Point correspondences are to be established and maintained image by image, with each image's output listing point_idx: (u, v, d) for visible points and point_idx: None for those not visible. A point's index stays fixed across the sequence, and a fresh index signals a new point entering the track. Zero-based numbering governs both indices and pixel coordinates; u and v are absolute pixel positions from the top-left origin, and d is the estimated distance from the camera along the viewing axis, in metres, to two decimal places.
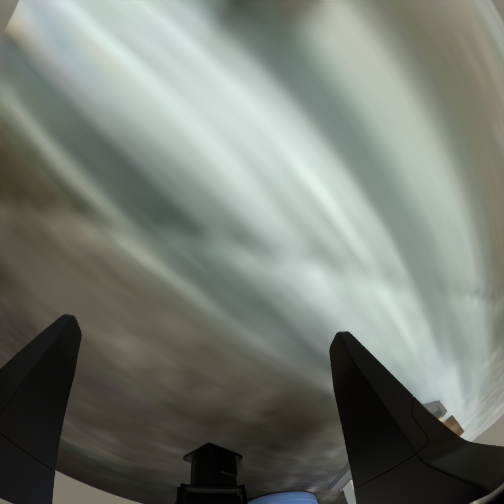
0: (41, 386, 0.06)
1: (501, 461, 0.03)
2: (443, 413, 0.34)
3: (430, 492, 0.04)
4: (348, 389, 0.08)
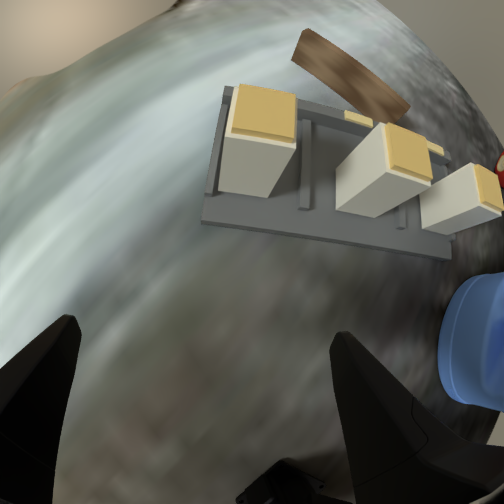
0: (41, 386, 0.06)
1: (501, 461, 0.03)
2: (227, 91, 0.23)
3: (430, 492, 0.04)
4: (348, 389, 0.08)
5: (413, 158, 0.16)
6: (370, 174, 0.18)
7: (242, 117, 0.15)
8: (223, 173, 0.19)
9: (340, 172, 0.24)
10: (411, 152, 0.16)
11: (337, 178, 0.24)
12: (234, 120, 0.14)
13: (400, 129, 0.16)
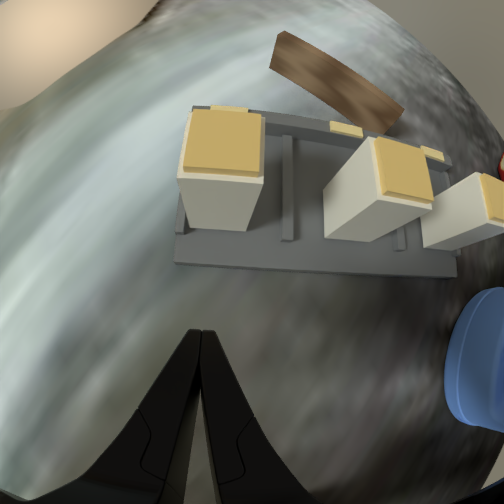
0: (189, 414, 0.06)
1: None
2: None
3: None
4: (201, 393, 0.07)
5: (410, 178, 0.14)
6: (359, 200, 0.16)
7: (195, 152, 0.12)
8: (190, 212, 0.17)
9: (327, 195, 0.21)
10: (407, 171, 0.14)
11: (324, 201, 0.22)
12: (186, 157, 0.12)
13: (393, 143, 0.14)
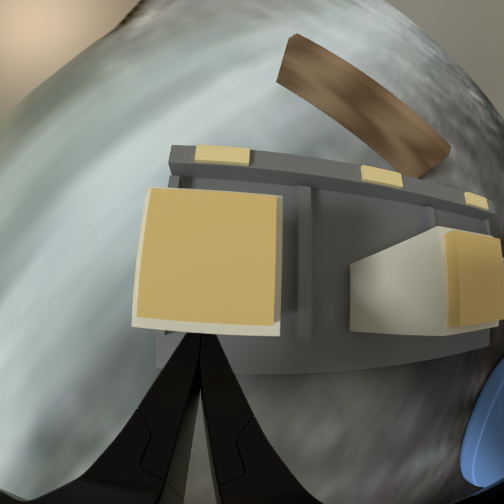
0: (189, 414, 0.06)
1: None
2: (175, 155, 0.15)
3: None
4: (201, 393, 0.07)
5: (485, 295, 0.08)
6: (411, 317, 0.10)
7: (156, 287, 0.07)
8: None
9: (357, 276, 0.16)
10: (483, 283, 0.08)
11: (352, 282, 0.16)
12: (140, 297, 0.07)
13: (470, 238, 0.08)
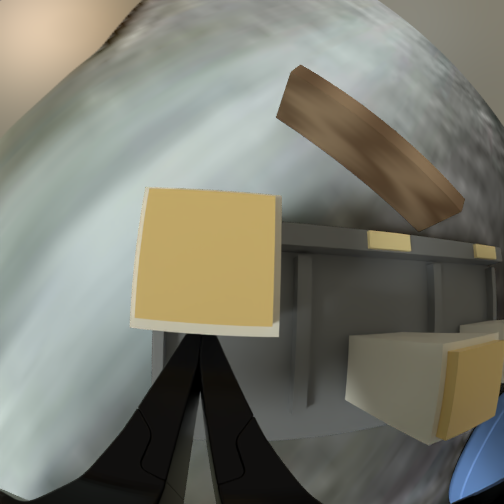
0: (190, 414, 0.06)
1: None
2: None
3: None
4: (201, 393, 0.07)
5: (478, 403, 0.07)
6: (403, 416, 0.09)
7: (155, 288, 0.07)
8: None
9: (355, 351, 0.15)
10: (478, 393, 0.07)
11: (350, 355, 0.15)
12: (138, 298, 0.07)
13: (474, 353, 0.07)
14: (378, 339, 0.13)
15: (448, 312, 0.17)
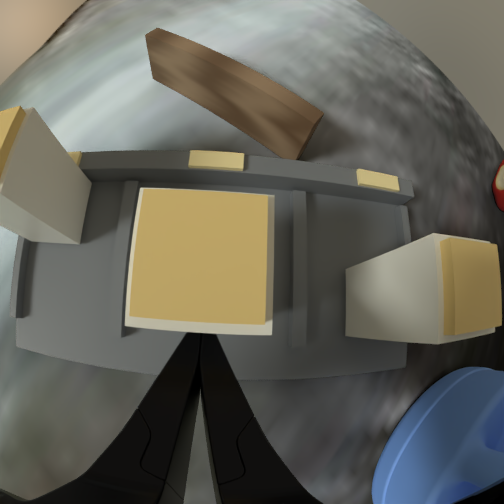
0: (189, 414, 0.06)
1: None
2: None
3: None
4: (201, 393, 0.07)
5: (199, 279, 0.07)
6: None
7: None
8: (6, 227, 0.11)
9: None
10: (196, 261, 0.07)
11: None
12: None
13: (178, 196, 0.07)
14: None
15: (325, 251, 0.17)
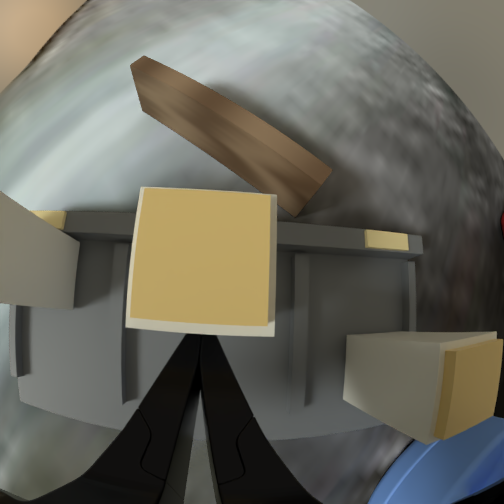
0: (190, 414, 0.06)
1: None
2: None
3: None
4: (201, 393, 0.07)
5: (201, 280, 0.07)
6: None
7: None
8: None
9: None
10: (198, 262, 0.07)
11: None
12: None
13: (180, 196, 0.07)
14: None
15: (327, 317, 0.16)
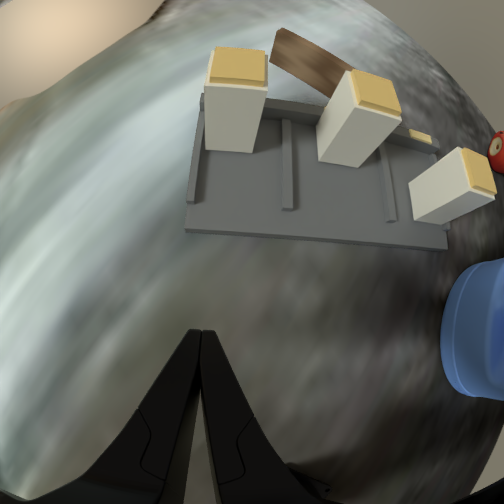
0: (189, 414, 0.06)
1: None
2: None
3: None
4: (201, 393, 0.07)
5: (379, 95, 0.17)
6: (342, 116, 0.19)
7: (218, 69, 0.15)
8: (208, 127, 0.20)
9: (319, 127, 0.24)
10: (377, 91, 0.17)
11: (317, 134, 0.25)
12: (211, 71, 0.15)
13: (365, 73, 0.17)
14: (327, 106, 0.22)
15: (396, 173, 0.26)
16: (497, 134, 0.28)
